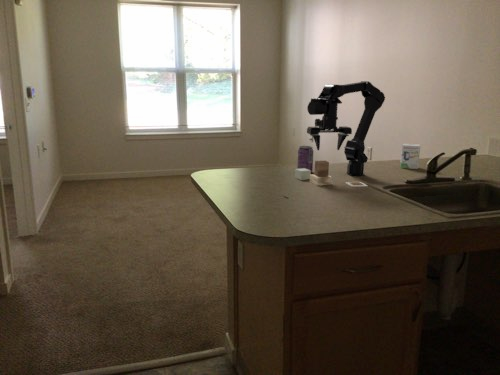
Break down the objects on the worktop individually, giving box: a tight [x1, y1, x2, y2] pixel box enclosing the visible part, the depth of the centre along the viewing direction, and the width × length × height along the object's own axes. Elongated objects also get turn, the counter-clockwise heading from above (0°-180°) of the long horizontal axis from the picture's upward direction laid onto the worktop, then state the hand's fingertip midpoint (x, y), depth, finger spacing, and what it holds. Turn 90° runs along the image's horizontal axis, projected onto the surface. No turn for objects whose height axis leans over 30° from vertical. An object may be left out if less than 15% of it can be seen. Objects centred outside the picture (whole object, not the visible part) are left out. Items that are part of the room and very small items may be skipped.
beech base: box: [309, 173, 333, 186], centre depth 189 cm, size 7×7×4 cm
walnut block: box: [313, 160, 330, 177], centre depth 188 cm, size 4×4×6 cm
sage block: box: [294, 168, 311, 181], centre depth 197 cm, size 5×5×4 cm
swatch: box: [345, 181, 369, 188], centre depth 187 cm, size 7×7×1 cm
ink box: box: [399, 143, 421, 170], centre depth 223 cm, size 9×5×12 cm, turn 73°
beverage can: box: [296, 145, 314, 172], centre depth 209 cm, size 7×7×12 cm
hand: (328, 150), depth 196 cm, fingers open, 9 cm apart
